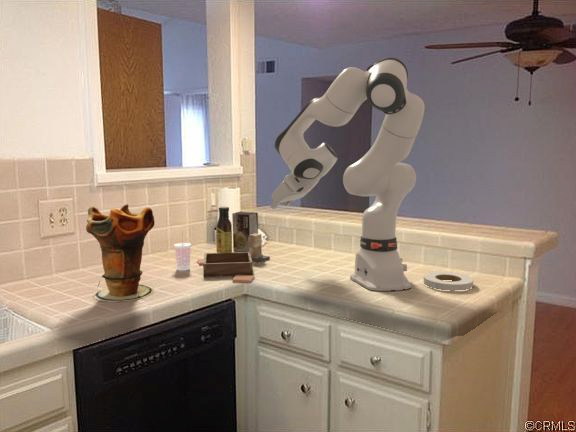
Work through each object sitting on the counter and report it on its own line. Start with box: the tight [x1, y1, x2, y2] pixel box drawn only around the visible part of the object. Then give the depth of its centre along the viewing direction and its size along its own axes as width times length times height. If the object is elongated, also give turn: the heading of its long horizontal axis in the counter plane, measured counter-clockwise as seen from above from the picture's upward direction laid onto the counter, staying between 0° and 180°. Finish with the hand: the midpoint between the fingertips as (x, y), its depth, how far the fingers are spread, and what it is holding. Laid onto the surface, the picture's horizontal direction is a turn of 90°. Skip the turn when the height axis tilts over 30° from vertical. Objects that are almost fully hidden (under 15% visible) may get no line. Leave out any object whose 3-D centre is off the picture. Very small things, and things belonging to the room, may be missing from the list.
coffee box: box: [231, 211, 259, 252], centre depth 218 cm, size 9×6×16 cm
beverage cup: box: [173, 230, 192, 271], centre depth 187 cm, size 6×6×14 cm
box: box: [202, 251, 254, 278], centre depth 186 cm, size 17×17×4 cm
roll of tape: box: [423, 271, 474, 291], centre depth 167 cm, size 16×15×3 cm
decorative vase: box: [85, 203, 155, 303], centre depth 157 cm, size 21×23×28 cm
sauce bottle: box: [215, 206, 233, 253], centre depth 207 cm, size 6×6×20 cm
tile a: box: [196, 258, 204, 266], centre depth 197 cm, size 6×6×1 cm
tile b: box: [232, 275, 255, 284], centre depth 173 cm, size 6×6×1 cm
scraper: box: [249, 233, 271, 263], centre depth 202 cm, size 9×6×10 cm
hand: (279, 205), depth 191 cm, fingers open, 8 cm apart
